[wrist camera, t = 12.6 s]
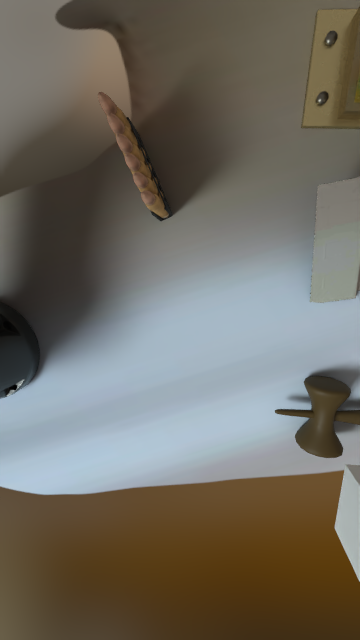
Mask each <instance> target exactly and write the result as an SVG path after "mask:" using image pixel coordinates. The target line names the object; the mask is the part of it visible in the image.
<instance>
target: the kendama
mask: <svg viewBox="0 0 360 640" xmlns="http://www.w3.org/2000/svg"><path fill="white" fill-rule="evenodd" d="M304 385H305V387H306V389H307V391H308V394H309V396H310V399H311V403H312V408H311V410H294V409H277V410H275V413H277V414H281V415H289V416H298V417H308V418H310V419H309V420H308V422H307V423H306V424H305V425H303V426H302V427H301V428H300V429H299V430H298V431H297V433H296V435H295V439H296V442H297V443H298V445H299V446H300V447H301V448H302V449H304V450H305V451H306V452H308V453H310V454H313V455H315V456H319V457H324V458H336V457H339V456H341V455H342V452H343V447H342V445H341V443H340V441H339V439H338V437H337V435H336V433H335V431H334V421H341V422H347V423H352V424H358V425H360V410H343V411H337V409H338V408H339V407H340V406H341V404H342V403H343V402H344V401H345V400H346V399H347V398H348V397H349V396H350V393H351V389H350V388H349V387H348V386H347V385H346V384H344V383H343V382H341V381H339V380H336V379H333V378H329V377H322V376H312V377H308V378H306V379H305V381H304Z"/></svg>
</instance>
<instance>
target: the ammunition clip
mask: <svg viewBox="0 0 360 640" xmlns="http://www.w3.org/2000/svg"><path fill="white" fill-rule="evenodd" d="M98 98H99V102H100V105H101V107H102V109H103V110H104V112H105V114H106V115H107V119H108V122H109V125H110V127H111V129H112V130H113V131H114V134H115V135H116V140H117V143H118V145H119V147H120V149H121V150H122V152H123V154H124V156H125V161H126V164H127V166H128V167H129V168H130V170H131V172H132V174H133V180H134V182H135V184H136V185H137V186H138V188H139V190H140V191H141V198H142V200H143V202H144V203H145V204H146V206H147V207H148V208H149V209H150V211H151V213H152V215H153V216H155V217H156V218H157V219H159V220H160V221H163V220H165V219H167V218H169V217H171V216H173V214H172V211H171V209H170V207H169V204H168V202H167V200H166V197H165V195H164V192H163V190H162V188H161V185H160V183H159V181H158V178H157V176H156V174H155V171H154V169H153V167H152V164H151V162H150V160H149V157H148V155H147V152H146V150H145V148H144V145H143V143H142V141H141V138H140V136H139V134H138V132H137V131H136V129H135V127H134V126H133V124H132V123H131V121H130V119H129V118H128V117H127V118H126V117H125V115H124V113H123V112H122V111H121V110H120V109H119V108H118V107H117V106H116V105H115V104H114V102H113V101H112V100H111V99H110V98H109V97H108V96H107V95H106V94H104V93H102V92H99V94H98Z"/></svg>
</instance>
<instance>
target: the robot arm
mask: <svg viewBox="0 0 360 640" xmlns="http://www.w3.org/2000/svg"><path fill="white" fill-rule="evenodd" d="M38 364H39V346H38V342H37V339H36V336H35V334H34V332H33V330H32V328H31V327H30V325H29V324H28V323H27V321H26V320H25V319H24V318H23V317H22V316H21V315H20V314H19V313H18V312H16V311H15V310H14V309H12V308H10V307H9V306H7V305H4V304H2V303H0V399H1V398H4V397H7V396H10V395H12V394H14V393H15V392H17V391H18V390H20V389H21V388H23V387H24V386H25V385H27V384H28V383H29V382H30V381H31V379H32V378H33V377H34V375H35V373H36V371H37V368H38ZM335 530H336V532H337V534H338V536H339V538H340V541H341V543H342V545H343V547H344V549H345V551H346V553H347V556H348V558H349V560H350V562H351V564H352V566H353V568H354V570H355V573H356V575H357V577H358V579H359V581H360V465H345V471H344V477H343V482H342V488H341V494H340V500H339V505H338V512H337V517H336V523H335Z"/></svg>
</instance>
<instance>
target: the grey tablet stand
mask: <svg viewBox="0 0 360 640" xmlns="http://www.w3.org/2000/svg"><path fill="white" fill-rule="evenodd" d="M317 189H318V190H317V196H318V197H317V198H318V199H317V203H316V206H317V207H316V211H317V212H316V219H315V220H316V221H315V227H316V228H315V233H314V235H315V238H314V240H315V241H314V246H313V247H314V248H313V252H314V253H313V263H312V264H313V265H312V266H313V268H312V273H313V274H312V276H311V277H312V279H311V280H312V281H311V282H312V284H311V293H310V294H311V296H310V302H316V303H324V302H329V301H334V300H335V301H339V300H346V299H353V298H356V292H357V290H360V177H357V178H354V179H352V178H351V179H347V180H344V181H343V180H341V181H340V180H339V181H338V182H331V183H330V184H328V183H326V184H320V185H318V188H317Z"/></svg>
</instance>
